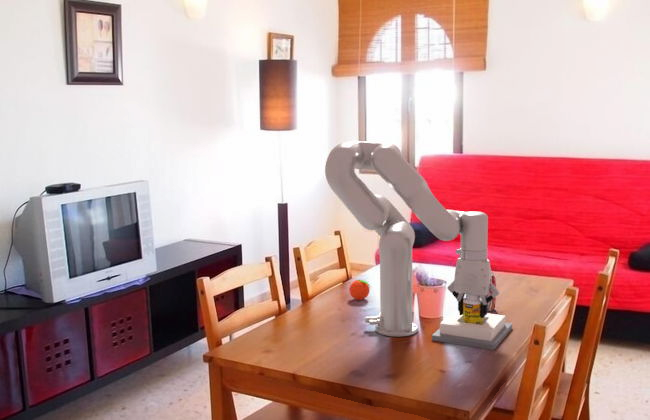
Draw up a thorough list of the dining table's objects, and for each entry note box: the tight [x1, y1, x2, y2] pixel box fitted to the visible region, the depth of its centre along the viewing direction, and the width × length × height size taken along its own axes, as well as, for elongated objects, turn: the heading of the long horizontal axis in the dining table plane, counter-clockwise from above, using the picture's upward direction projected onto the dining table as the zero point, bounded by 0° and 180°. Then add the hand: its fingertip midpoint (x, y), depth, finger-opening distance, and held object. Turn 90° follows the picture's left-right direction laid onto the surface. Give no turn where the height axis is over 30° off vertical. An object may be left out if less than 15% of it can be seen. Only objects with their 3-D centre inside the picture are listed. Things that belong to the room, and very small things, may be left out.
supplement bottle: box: [463, 294, 482, 325], centre depth 204 cm, size 6×6×10 cm
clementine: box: [349, 279, 371, 301], centre depth 241 cm, size 8×7×7 cm
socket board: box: [431, 308, 513, 351], centre depth 205 cm, size 20×18×4 cm
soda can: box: [480, 271, 497, 312], centre depth 227 cm, size 7×7×12 cm
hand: (472, 314), depth 204 cm, fingers closed on supplement bottle, 5 cm apart
